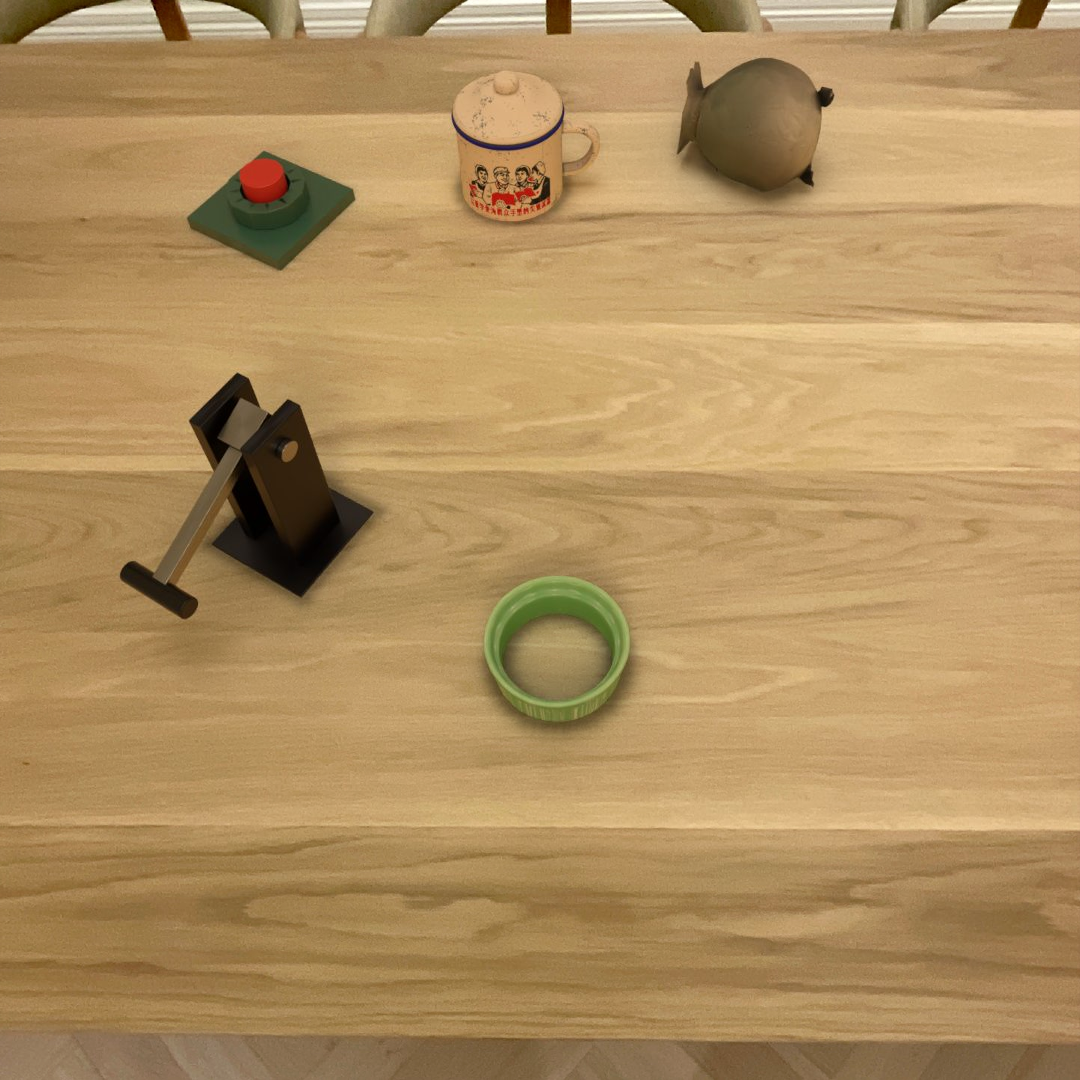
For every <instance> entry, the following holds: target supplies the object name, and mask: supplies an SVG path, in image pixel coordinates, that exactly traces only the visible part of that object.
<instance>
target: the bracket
mask: <svg viewBox="0 0 1080 1080" xmlns="http://www.w3.org/2000/svg"><path fill="white" fill-rule="evenodd" d="M240 398H242V399H244V400H246V401H248V402H250V403H252V404H254V405H256V406H258V407H259V408H261V409H262V407H261V404H260V403H259V400H258V397H257V394H256V392H255V390H254V387H253V385H252V382H251V380H250V378H249V377H247V376H245V375H244V374H241V373H240V372H236V373H235V374H234V375H233V376H231V378H230V379H229V380H228V381H227V382H225V383H224V384H223V386H222V387H221V388H219V389H218V390H217V392H215V394H213V395H212V396H211V398H209V400H207V401H206V403H204V404H203V405H202V406H201V407H200V408H199V409H198V411H197V412H195V414H193V416H191V417H190V418H189V420H188V423H189V425H190V427H191V429H192V431H193V433H194V435H195V437H196V439H197V441H198V443H199V445H200V447H201V450H202V451H203V453H204V455H205V457H206V459H207V461H208V463H209V465H210V467H211V469H212V471H213V472H214V471H215V470H216V468H217V466H218V464H219V463H220V461H221V459H222V458H223V456H224V454H225V453H226V451H227V449H228V448H229V446H230V445H228V444H227V443H225V442H223V441H222V440H220V439H218V438H217V437H218V435H219V433H220V432H221V430H222V428H223V427H224V425H225V423H226V422H227V420H228V418H229V417H230V415H231V413H232V412H233V410H234V408H235V406H236V405H237V403H238V401H239V400H240ZM240 450H241V453H242V455H243V457H244V459H245V462H246V464H247V465H246V467H245V468H244V470H243V472H242V473H241V475H240V477H239V478H238V480H237V482H236V484H235V485H234V487H233V489H232V490H231V492H230V494H229V495H228V497H227V499H226V500H227V502H228V504H229V505H230V507H231V510H232V511H233V514H234V515H235V517H234V519H233V520H232V521H231V522H230V523H229V524H228V525H227V526H226V527H225V528H224V529H223V531H221V533H219V535H218V536H217V537H216V538H215V539H214V540H213V541H212V542H211V546H213V547H214V548H215V549H218V550H219V551H221V552H223V553H225V554H226V555H228V556H230V557H231V558H233V559H235V560H237V561H238V562H239V563H241V564H244V565H245V566H247V567H248V568H249V569H251V570H253V571H255V572H256V573H258V574H260V575H262V576H263V577H265V578H267V579H268V580H270V581H271V582H274V583H275V584H277V585H279V586H280V587H282V588H283V589H285V590H287V591H289V592H290V593H292V594H294V595H295V596H297V597H299V598H303V596H304V595H305V594H306V593H307V592H308V591H309V590H310V589H311V587H312V586H313V585H314V584H315V583H316V581H317V580H318V579H319V577H321V576H322V574H323V573H324V572H325V571H326V570H327V568H328V567H329V566H330V565H331V564H332V562H333V561H334V560H335V559H336V558H337V557H338V556H339V554H340V553H341V552H342V551H343V550H344V548H345V547H346V546H347V545H348V544H349V543H350V541H352V539H353V538H354V536H355V535H356V534H357V533H358V532H359V531H360V530H361V528H362V527H363V526H364V525H365V524H366V522H368V521H369V519H370V518H371V517H372V516H373V514H374V511H373V510H371V509H370V508H368V507H366V506H363V504H360V503H358V502H357V501H356V500H355V501H354V500H353V499H351V498H349V497H347V496H345V495H344V494H342V493H340V492H339V491H336V490H335V489H333V488H331V487H329V484H328V481H327V479H326V476H325V475H326V474H325V473H324V469H323V466H322V464H321V461H320V458H319V455H318V452H317V450H316V446H315V444H314V440H313V438H312V436H311V432H310V430H309V426H308V424H307V421H306V418H305V415H304V412H303V410H302V406H301V405H300V404H299V403H297V402H295V401H293V400H291V399H290V398H287V399H286V400H285V401H284V402H283V403H282V404H281V405H280V406H279V407H278V408H277V409H276V410H275V411H274V413H273V414H272V416H271V417H270V418H269V419H268V420H267V421H266V422H265V423H264V424H263V425H262V426H261V427H260V428H259V429H258V430H257V431H256V432H255V433H254V434H253V435H252V436H251V438H250V439H249V440H248V441H247V442H246V443H245V444H244V445H243V446H242V447H241V448H240Z"/></svg>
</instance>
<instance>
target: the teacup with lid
mask: <svg viewBox="0 0 1080 1080" xmlns="http://www.w3.org/2000/svg"><path fill="white" fill-rule="evenodd" d="M450 118H451V122H452V125H453V128H454V129H455V133H456V142H457V143H456V144H457V151H458V152H457V153H458V160H459V169H460V178H461V187H462V194H463V198H464V200H465V202H466V204H467V205H468V206H469V207H470V208H471V209H472V210H473V211H474V212H476V213H478V214H479V215H480V216H483V217H486V218H488V219H491V220H496V221H502V222H518V221H520V222H521V221H525V220H529V219H532V218H533V219H534V218H536V217H538V216H540V215H542V214H545V213H546V212H547V211H549V210H551V208H552V207H554V205H556V203H557V202H558V201H559V199H560V197H561V195H562V193H563V184H564V183H563V182H564V181H563V177H566V176H567V177H568V176H575V175H579V174H581V173H583V172H585V171H587V170H588V169H589V168H590V167H591V166H592V165H593V164H594V163H595V161H596V160H597V158H598V156H599V153H600V149H601V148H600V147H601V138H600V134H599V132H598V131H599V130H598V129H597V128H596V127H595V126H594V125H593V124H591V123H590V122H588V121H586V120H582V119H576V118H575V119H574V118H573V119H564V118H565V105H564V102H563V100H562V97H561V95H560V94H559V92H558V90H557V89H556V88H555V87H554V86H553V84H551V83H549V81H547V80H545V79H544V78H541V77H540V76H537V75H534V74H531V73H527V72H520V71H512V70H507V69H505V70H504V69H503V70H501V71H498V72H495V73H489V74H486V75H483V76H481V77H478V78H476V79H474V80H472V81H471V82H469V83H468V84H466V86H464V87H462V89H461V90H460V92H459V93H458V94H457V96H455V99H454V102H453V104H452V109H451V117H450ZM564 134H580V135H583V136H585V137H587V138H588V139H589V140H590V141H591V143H590V146H589V149H588V150H587V152H586V154H584V155H583V156H582V157H581V158H578V159H576V160H574V161H568V162H567V161H566V162H563V135H564Z"/></svg>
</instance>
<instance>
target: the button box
mask: <svg viewBox="0 0 1080 1080" xmlns="http://www.w3.org/2000/svg"><path fill="white" fill-rule="evenodd" d="M257 159H272V160H275V161H277V162H278V163H280V164H281V166H282V168H283V171H284V174H285V178H286V181H287V185H288V189H287V192H286V193H285V194H284V195H283V196H282V197H281V198H280V199H277V200H274V201H271V202H269V203H253V202H251V201H249V200H248V199H247V198H246V196H245V194H244V191H243V188H242V185H241V182H240V178H239V174H240V171H241V169H242V168H243V167H241V168H240V169H239V170H237V172H235V173H234V174H233V175H232V176H230V178H228V180H227V182H226V183H225V184H223V185H222V186H221V187H220V188H219V189H218V190H217V191H215V192H214V193H213V194H212V195H211V196H210V197H209V198H207V199H206V200H205V201H204V202H203V203H201V205H200V206H198V207H197V208H196V209H194V211H192V212H191V213H190V214H189V215H187V217H186V220H187V222H188V225H189V227H190V229H192V230H193V231H196V232H198V233H200V234H202V235H204V236H206V237H208V238H210V239H213V240H215V241H217V242H219V243H221V244H222V245H225V246H227V247H229V248H232V249H234V250H236V251H238V252H240V253H242V254H244V255H246V256H249V257H251V258H253V259H255V260H257V261H259V262H261V263H263V264H266V265H267V266H270V267H272V268H273V269H276V270H278V271H280V272H281V271H283V270H284V269H285V268H286V267H287V266H288V265H289V264H290V263H291V262H292V261H293V260H295V258H296V257H297V256H298V255H299V254H300V253H301V252H302V251H304V249H306V248H307V247H308V246H309V245H310V244H311V243H312V242H313V241H314V240H315V239H317V237H318V236H319V235H320V234H321V233H322V232H323V231H324V230H326V228H328V227H329V225H331V224H332V223H333V222H334V221H335V220H336V219H337V218H338V217H340V215H342V213H343V212H345V211H346V209H347V208H348V207H350V206H351V204H353V203H354V202H355V200H356V197H355V191H354V188H352V187H349V186H347V185H345V184H342V183H341V182H337V181H335V180H333V179H331V178H328V177H326V176H324V175H322V174H319V173H318V172H317V173H316V172H314V171H312V170H310V169H308V168H306V167H303V166H301V165H298V164H296V163H293V162H292V161H289V160H286V159H284V158H282V157H280V156H277V155H275V154H274V153H273V154H272V153H271V152H268V151H266V150H263V151H261V152H260V153H259V154H258V155H257V156H255V157H254V158H253V159H252V160H251V161H254V160H257Z"/></svg>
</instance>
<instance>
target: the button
mask: <svg viewBox="0 0 1080 1080" xmlns="http://www.w3.org/2000/svg"><path fill="white" fill-rule="evenodd" d="M241 168H242V169H241ZM241 168H240V169H241V171H240V174H239V178H240V182H241V185H242V188H243V191H244V194H245V196H246V198H247V199H248V200H249V201H251V202H253V203H269V202H271V201H274V200H277V199H280V198H281V197H282V196H283V195H284V194H285V193H286V192H287V189H288V185H287V181H286V178H285V174H284V171H283V168H282V166H281V164H280V163H278V162H277V161H275V160H272V159H257V160H254V161H252V160H251V161H250V162H247V163H246V164H245V165H243V166H242V167H241Z"/></svg>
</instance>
